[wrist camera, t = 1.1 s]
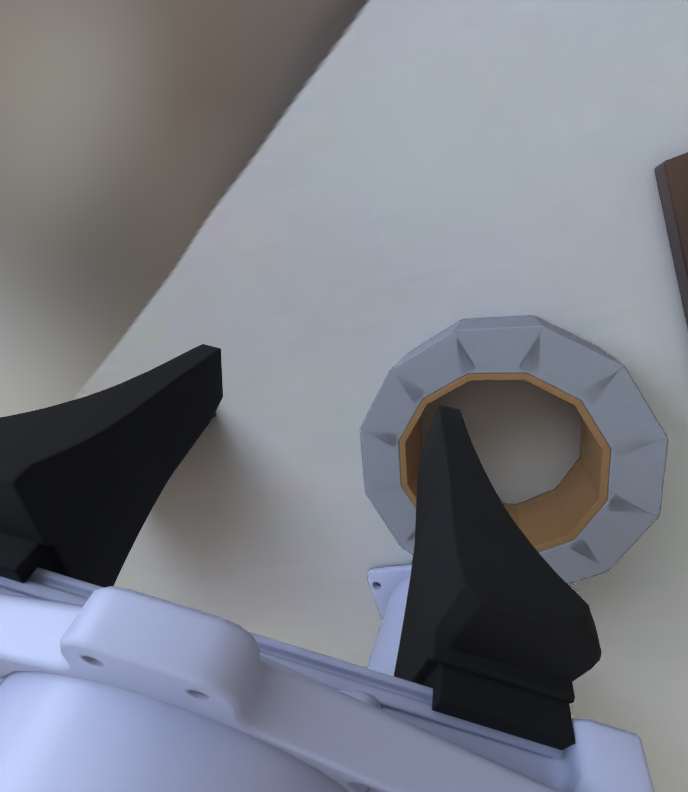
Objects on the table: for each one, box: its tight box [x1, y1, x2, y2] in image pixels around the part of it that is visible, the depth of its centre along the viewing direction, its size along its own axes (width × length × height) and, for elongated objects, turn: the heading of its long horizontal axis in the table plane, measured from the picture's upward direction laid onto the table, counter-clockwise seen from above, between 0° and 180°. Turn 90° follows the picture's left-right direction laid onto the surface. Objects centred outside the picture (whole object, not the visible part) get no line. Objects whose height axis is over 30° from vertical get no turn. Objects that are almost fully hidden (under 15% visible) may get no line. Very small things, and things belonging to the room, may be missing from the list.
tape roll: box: [360, 315, 668, 584], centre depth 21 cm, size 13×13×4 cm
